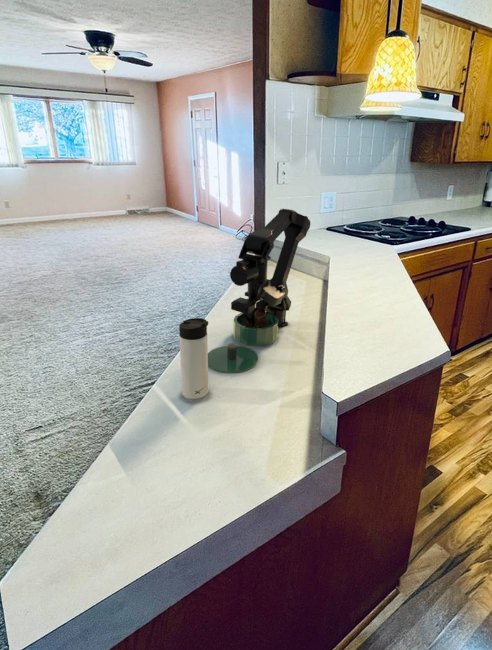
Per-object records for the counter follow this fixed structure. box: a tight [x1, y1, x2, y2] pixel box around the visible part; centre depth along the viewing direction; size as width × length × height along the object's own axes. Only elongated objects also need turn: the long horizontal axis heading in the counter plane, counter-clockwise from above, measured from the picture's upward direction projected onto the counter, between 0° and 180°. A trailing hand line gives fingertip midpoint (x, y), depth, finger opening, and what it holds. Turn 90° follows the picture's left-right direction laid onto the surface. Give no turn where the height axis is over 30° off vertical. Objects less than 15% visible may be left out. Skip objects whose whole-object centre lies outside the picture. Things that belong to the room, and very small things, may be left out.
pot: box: [232, 312, 279, 348], centre depth 129 cm, size 14×14×6 cm
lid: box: [208, 342, 259, 374], centre depth 115 cm, size 15×15×5 cm
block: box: [246, 311, 266, 328], centre depth 128 cm, size 4×4×4 cm
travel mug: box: [178, 317, 209, 402], centre depth 96 cm, size 6×7×20 cm
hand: (256, 323), depth 128 cm, fingers open, 5 cm apart
